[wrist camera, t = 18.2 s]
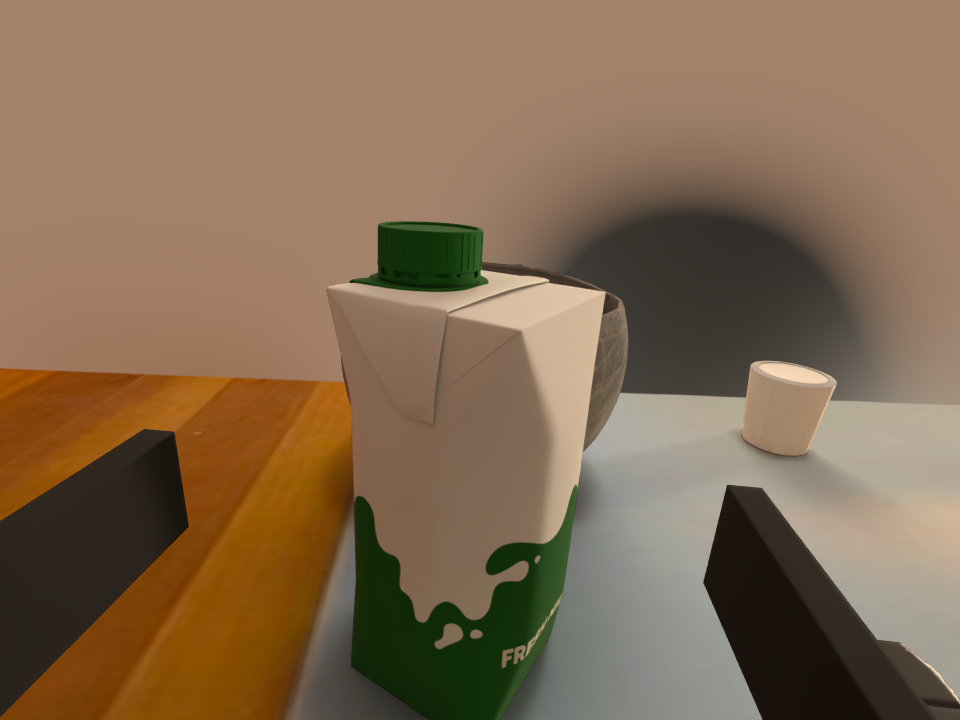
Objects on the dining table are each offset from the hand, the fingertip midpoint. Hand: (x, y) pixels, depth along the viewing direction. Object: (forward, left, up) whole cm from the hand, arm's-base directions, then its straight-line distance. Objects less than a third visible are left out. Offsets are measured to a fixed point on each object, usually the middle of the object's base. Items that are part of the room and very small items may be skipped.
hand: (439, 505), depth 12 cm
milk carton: (+8, -2, -15) cm, 17 cm away
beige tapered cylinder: (+28, -35, -15) cm, 47 cm away
